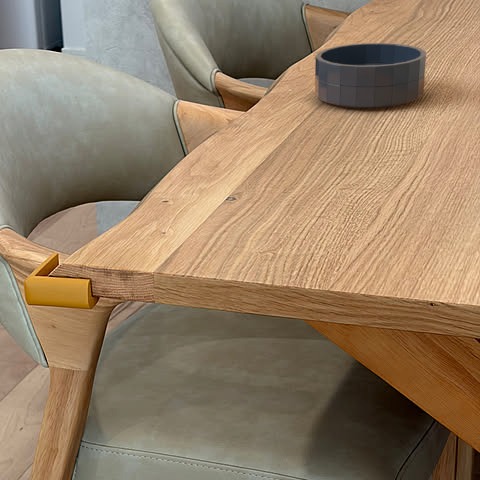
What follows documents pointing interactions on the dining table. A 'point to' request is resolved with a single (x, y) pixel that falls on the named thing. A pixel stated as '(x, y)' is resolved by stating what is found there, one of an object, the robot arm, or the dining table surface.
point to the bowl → (370, 75)
